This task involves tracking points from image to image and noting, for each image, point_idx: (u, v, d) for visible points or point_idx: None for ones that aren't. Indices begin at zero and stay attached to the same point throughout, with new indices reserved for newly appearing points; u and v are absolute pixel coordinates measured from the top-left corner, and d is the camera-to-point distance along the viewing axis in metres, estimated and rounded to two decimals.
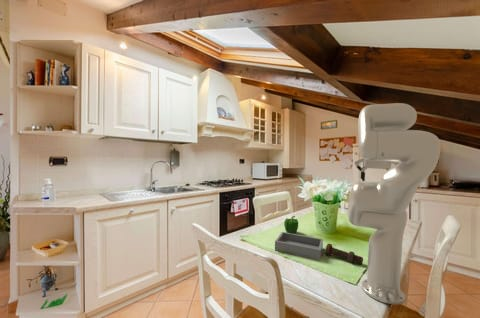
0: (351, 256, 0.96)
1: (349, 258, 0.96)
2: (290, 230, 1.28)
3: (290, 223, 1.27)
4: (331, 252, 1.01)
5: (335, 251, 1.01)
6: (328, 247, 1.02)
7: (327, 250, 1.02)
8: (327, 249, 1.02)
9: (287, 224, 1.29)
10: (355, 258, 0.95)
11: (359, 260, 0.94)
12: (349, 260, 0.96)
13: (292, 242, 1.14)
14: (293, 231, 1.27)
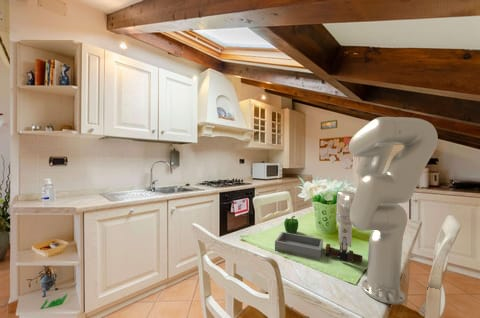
0: (351, 255, 0.97)
1: (350, 257, 0.96)
2: (290, 230, 1.28)
3: (290, 223, 1.27)
4: (331, 253, 1.01)
5: (335, 251, 1.00)
6: (328, 248, 1.01)
7: (327, 251, 1.01)
8: (327, 250, 1.01)
9: (287, 224, 1.29)
10: (355, 257, 0.96)
11: (359, 258, 0.95)
12: (350, 259, 0.97)
13: (292, 242, 1.14)
14: (293, 231, 1.27)
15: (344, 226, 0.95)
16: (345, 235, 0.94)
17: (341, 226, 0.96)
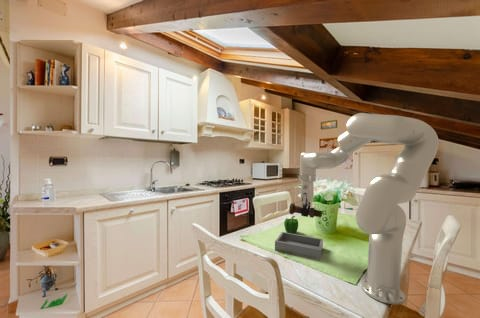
0: (312, 210, 1.04)
1: (310, 212, 1.04)
2: (290, 230, 1.28)
3: (290, 223, 1.27)
4: (294, 210, 1.08)
5: (298, 208, 1.08)
6: (292, 205, 1.09)
7: (291, 208, 1.08)
8: (291, 207, 1.08)
9: (287, 224, 1.29)
10: (315, 212, 1.04)
11: (319, 213, 1.03)
12: (310, 214, 1.04)
13: (292, 242, 1.14)
14: (293, 231, 1.27)
15: (305, 183, 1.03)
16: (305, 191, 1.02)
17: (302, 183, 1.03)
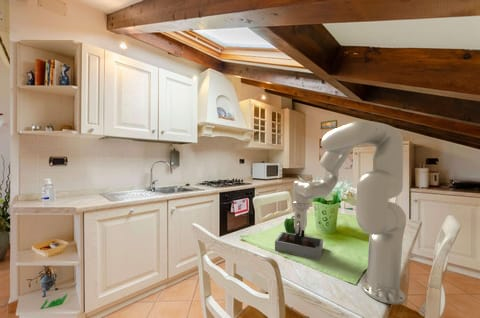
0: (306, 242, 1.06)
1: (304, 245, 1.06)
2: (290, 230, 1.28)
3: (290, 223, 1.27)
4: (288, 241, 1.10)
5: (292, 240, 1.09)
6: (286, 237, 1.10)
7: (285, 239, 1.09)
8: (285, 239, 1.10)
9: (287, 224, 1.29)
10: (309, 244, 1.06)
11: (313, 245, 1.05)
12: None
13: None
14: (293, 231, 1.27)
15: (298, 212, 1.04)
16: (299, 220, 1.04)
17: (295, 212, 1.05)
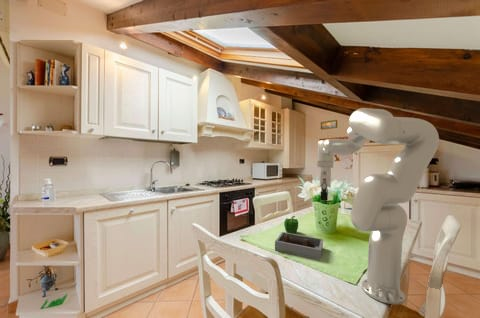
0: (305, 242, 1.06)
1: (304, 244, 1.06)
2: (290, 230, 1.28)
3: (290, 223, 1.27)
4: (288, 241, 1.10)
5: (292, 240, 1.09)
6: (286, 237, 1.10)
7: (285, 240, 1.09)
8: (285, 239, 1.10)
9: (287, 224, 1.29)
10: (309, 244, 1.06)
11: (313, 245, 1.05)
12: None
13: None
14: (293, 231, 1.27)
15: (324, 169, 1.07)
16: (325, 177, 1.06)
17: (321, 170, 1.07)
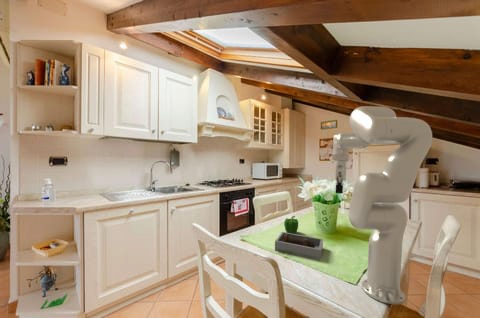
0: (305, 242, 1.07)
1: (304, 244, 1.06)
2: (290, 230, 1.28)
3: (290, 223, 1.27)
4: (288, 241, 1.10)
5: (292, 239, 1.09)
6: (285, 237, 1.10)
7: (285, 240, 1.09)
8: (285, 239, 1.10)
9: (287, 224, 1.29)
10: (309, 244, 1.07)
11: (312, 244, 1.06)
12: None
13: None
14: (293, 231, 1.27)
15: (339, 163, 1.09)
16: (340, 170, 1.08)
17: (337, 163, 1.09)
